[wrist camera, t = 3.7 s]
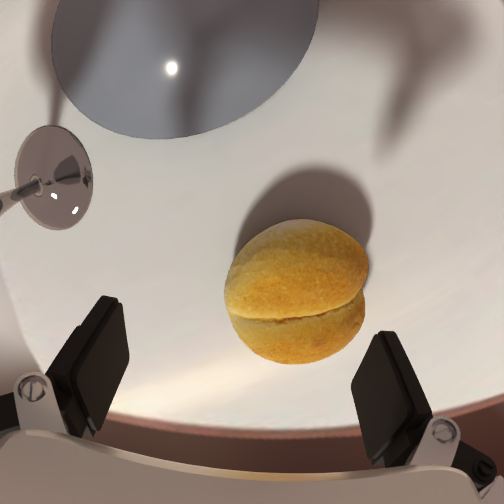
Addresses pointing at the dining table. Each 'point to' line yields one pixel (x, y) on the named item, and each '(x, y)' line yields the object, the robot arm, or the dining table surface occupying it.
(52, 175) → the wine glass
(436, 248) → the dining table surface
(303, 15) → the plate
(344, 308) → the bread roll
